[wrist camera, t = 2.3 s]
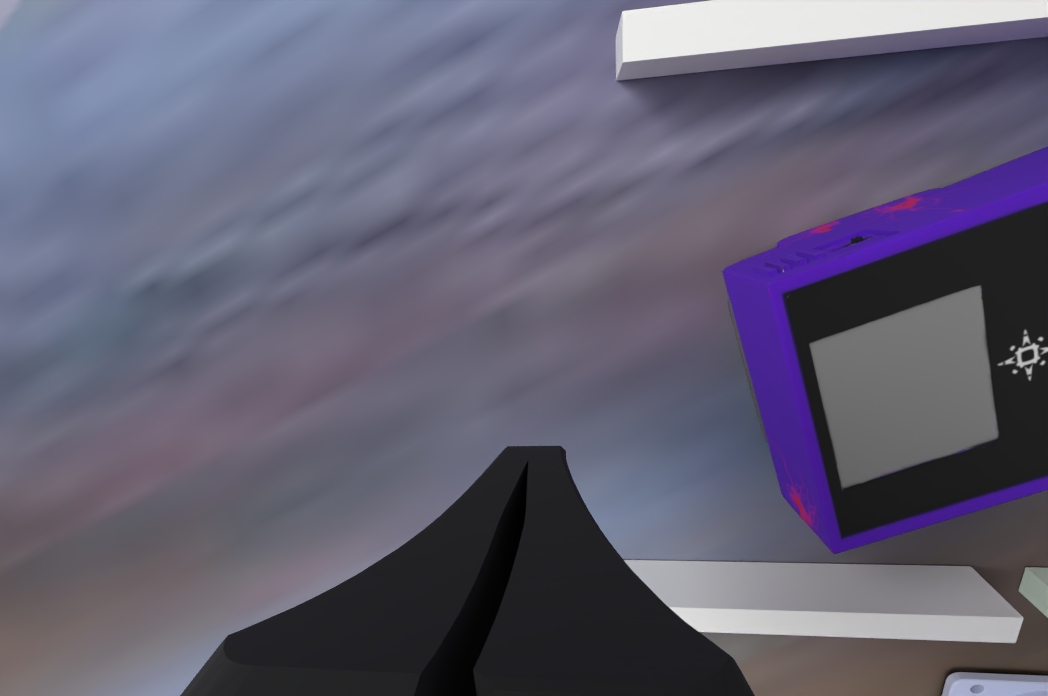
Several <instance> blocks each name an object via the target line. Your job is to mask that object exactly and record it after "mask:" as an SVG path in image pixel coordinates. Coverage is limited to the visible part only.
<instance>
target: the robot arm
mask: <svg viewBox="0 0 1048 696" xmlns="http://www.w3.org/2000/svg"><path fill="white" fill-rule="evenodd" d="M180 696H754V694H753V692H752V690H751V688H750V686H749V685H748V683H747V681H746V679H745V677H744V676H743V674H742V672H741V670H740V669H739V667H738V665H737V664H736V662H735V660H734V659H733V658H732V657H731V656H730V655H729V654H727V653H726V652H725V651H723V650H722V649H721V648H719V647H718V646H717V645H715V644H714V643H713V642H711V641H710V640H709V639H707V638H706V637H705V636H703V635H702V634H701V633H700V632H698V631H697V630H696V629H694V628H693V627H692V626H690V625H689V624H688V623H686V622H685V621H684V620H683V619H681V618H680V617H679V616H678V615H677V614H676V613H675V612H674V611H672V610H671V609H670V608H669V607H668V606H667V605H666V604H665V603H664V602H663V601H662V600H661V599H660V598H659V597H658V596H657V595H656V594H655V593H654V592H653V591H652V590H651V589H650V588H649V587H648V586H647V585H646V584H645V583H644V582H643V581H642V580H641V579H640V578H639V577H638V576H637V575H636V574H635V573H634V572H633V571H632V569H631V568H630V567H629V566H628V565H627V564H626V562H625V561H624V560H623V559H622V558H621V556H620V555H619V554H618V553H617V551H616V550H615V549H614V547H613V546H612V545H611V544H610V542H609V541H608V540H607V538H606V537H605V535H604V534H603V532H602V531H601V530H600V528H599V527H598V525H597V523H596V522H595V520H594V519H593V517H592V515H591V514H590V512H589V510H588V509H587V507H586V505H585V503H584V501H583V500H582V498H581V496H580V494H579V491H578V489H577V487H576V485H575V483H574V481H573V479H572V476H571V473H570V471H569V468H568V465H567V461H566V451H565V450H564V449H563V448H562V447H561V446H509V447H506V448H505V449H504V450H503V451H502V452H501V454H500V455H499V456H498V457H497V458H496V459H495V460H494V461H493V463H492V464H491V465H490V466H489V467H488V468H487V469H486V470H485V472H484V473H483V474H482V475H481V476H480V477H479V478H478V479H477V480H476V481H475V482H474V483H473V485H472V486H471V487H470V488H469V489H468V490H467V491H466V492H465V493H464V494H463V495H462V496H461V497H460V498H459V499H458V500H457V501H456V502H455V503H454V504H453V505H451V506H450V507H449V508H448V509H447V510H446V511H445V512H444V513H443V514H442V515H441V516H440V517H438V518H437V519H436V520H435V521H434V522H433V523H431V524H430V525H429V526H428V527H426V528H425V529H424V530H423V531H421V532H420V533H419V534H417V535H416V536H415V537H413V538H412V539H411V540H409V541H408V542H407V543H405V544H404V545H402V546H401V547H400V548H398V549H397V550H395V551H394V552H392V553H390V554H389V555H387V556H386V557H384V558H383V559H381V560H379V561H378V562H376V563H375V564H373V565H372V566H370V567H368V568H367V569H365V570H364V571H362V572H361V573H359V574H357V575H355V576H354V577H352V578H350V579H348V580H346V581H345V582H343V583H341V584H339V585H337V586H336V587H334V588H332V589H330V590H328V591H326V592H324V593H322V594H320V595H318V596H316V597H314V598H312V599H310V600H308V601H306V602H304V603H302V604H300V605H298V606H296V607H294V608H291V609H289V610H287V611H285V612H282V613H280V614H278V615H275V616H273V617H271V618H268V619H266V620H264V621H261V622H259V623H257V624H255V625H252V626H250V627H248V628H245V629H243V630H240V631H238V632H235V633H233V634H230V635H228V636H227V637H226V638H225V640H224V641H223V642H222V643H221V644H220V646H219V647H218V648H217V649H216V651H215V652H214V653H213V654H212V656H211V657H210V658H209V660H208V661H207V662H206V663H205V665H204V666H203V667H202V669H201V670H200V671H199V672H198V674H197V675H196V676H195V678H194V679H193V680H192V681H191V683H190V684H189V685H188V687H187V688H186V689H185V690H184V692H183V693H182V694H181V695H180ZM942 696H1048V676H1040V675H1017V674H994V673H971V672H955V673H952V674H950V675H949V676H948V677H947V679H946V682H945V686H944V689H943V693H942Z"/></svg>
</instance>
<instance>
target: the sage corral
mask: <svg viewBox="0 0 1048 696" xmlns="http://www.w3.org/2000/svg"><path fill="white" fill-rule="evenodd" d="M1018 591H1019V592H1020V593H1021V594H1022V595H1023V596H1025V597H1026V598H1027V599H1028V600H1029V601H1030V602H1031V603H1032V604H1033V605H1034V606H1035V607H1036V608H1038V609H1039V610H1040V611H1041V612H1042V613H1043V614H1044V615H1045V616H1046V617H1047V618H1048V568H1040V567H1026V568H1025V571H1024V574H1023V577H1022V581H1021V584H1020V587H1019V590H1018Z"/></svg>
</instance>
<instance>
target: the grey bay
mask: <svg viewBox="0 0 1048 696" xmlns="http://www.w3.org/2000/svg"><path fill="white" fill-rule="evenodd" d="M1040 37H1048V0H712V1H704V2H696V3H687V4H679V5H671V6H662V7H654V8H645V9H637V10H629V11H622V15H621V19H620V23H619V27H618V31H617V35H616V81H619V80H629V79H638V78H648V77H658V76H668V75H678V74H687V73H697V72H707V71H717V70H727V69H736V68H746V67H756V66H766V65H775V64H785V63H795V62H805V61H815V60H824V59H834V58H844V57H854V56H864V55H873V54H883V53H893V52H903V51H913V50H922V49H932V48H942V47H952V46H962V45H971V44H981V43H991V42H1001V41H1011V40H1020V39H1030V38H1040ZM624 561H625V562H626V564H627V565H628V566H629V567H630V568H631V569H632V571H633V572H634V573H635V574H636V575H637V576H638V577H639V578H640V579H641V580H642V581H643V582H644V583H645V584H646V585H647V586H648V587H649V588H650V589H651V590H652V591H653V592H654V593H655V594H656V595H657V596H658V597H659V598H660V599H661V600H662V601H663V602H664V603H665V604H666V605H667V606H668V607H669V608H670V609H671V610H672V611H674V612H675V613H676V614H677V615H678V616H679V617H680V618H681V619H683V620H684V621H685V622H686V623H688V624H689V625H690V626H692V627H693V628H694V629H696V630H697V631H698V632H719V633H747V634H775V635H803V636H831V637H859V638H887V639H915V640H943V641H971V642H999V643H1016V640H1017V637H1018V634H1019V631H1020V628H1021V625H1022V622H1023V619H1024V618H1023V617H1022V616H1021V615H1020V614H1019V613H1018V612H1017V611H1016V610H1015V609H1014V608H1013V607H1012V606H1011V605H1010V604H1009V603H1008V602H1007V601H1006V600H1005V599H1004V598H1003V597H1002V596H1001V595H1000V594H999V593H998V592H997V591H996V590H995V589H994V588H993V587H992V586H991V585H990V584H989V583H987V582H986V581H985V580H984V579H983V578H982V577H981V576H980V575H979V574H978V573H977V572H976V571H975V570H974V569H973V568H972V567H971V566H931V565H877V564H822V563H768V562H714V561H660V560H624Z"/></svg>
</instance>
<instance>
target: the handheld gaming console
mask: <svg viewBox="0 0 1048 696" xmlns="http://www.w3.org/2000/svg"><path fill="white" fill-rule="evenodd" d="M777 246H778V247H776V248H774V249H772V250H769V251H766V252H764V253H761V254H758V255H756V256H753V257H750V258H748V259H745V260H742V261H740V262H738V263H735V264H733V265H731V266H729V267H726V268H725V269H724V270H723V271H722V272H723V276H724V279H725V283H726V287H727V291H728V294H729V300H728V306H729V311H730V315H731V318H732V322H733V326H734V329H735V333H736V337H737V341H738V344H739V348H740V352H741V355H742V359H743V363H744V367H745V370H746V374H747V378H748V381H749V385H750V389H751V393H752V396H753V400H754V404H755V407H756V411H757V415H758V419H759V422H760V426H761V429H762V432H763V434H764V437H765V439H766V442H768V444H769V448H770V451H771V455H772V459H773V463H774V466H775V470H776V474H777V478H778V481H779V485H780V489H781V493H782V495H783V497H784V498H785V499H786V501H787V502H788V503H789V504H790V505H791V507H792V508H793V509H794V510H795V511H796V512H797V513H798V514H799V516H800V517H801V518H802V519H803V520H804V521H805V522H806V523H807V525H808V526H809V527H810V528H811V529H812V530H813V531H814V532H815V533H816V535H817V536H818V537H819V538H820V539H821V540H822V541H823V542H824V544H825V545H826V546H827V547H828V548H829V549H830V550H831V551H832V552H833V553H834V554H837V553H840V552H843V551H847V550H850V549H853V548H856V547H860V546H863V545H866V544H870V543H873V542H876V541H880V540H883V539H886V538H890V537H893V536H896V535H899V534H903V533H906V532H909V531H913V530H916V529H919V528H923V527H926V526H929V525H932V524H936V523H939V522H942V521H946V520H949V519H952V518H956V517H959V516H962V515H966V514H969V513H972V512H975V511H979V510H982V509H985V508H989V507H992V506H995V505H999V504H1002V503H1005V502H1009V501H1012V500H1015V499H1018V498H1022V497H1025V496H1028V495H1032V494H1035V493H1038V492H1042V491H1045V490H1048V147H1046V148H1043V149H1040V150H1038V151H1035V152H1033V153H1030V154H1028V155H1025V156H1023V157H1020V158H1018V159H1015V160H1013V161H1010V162H1008V163H1005V164H1003V165H1000V166H998V167H995V168H993V169H990V170H988V171H985V172H983V173H980V174H978V175H975V176H973V177H970V178H968V179H965V180H963V181H960V182H958V183H955V184H953V185H950V186H947V187H944V188H938V189H932V190H927V191H924V192H921V193H917V194H914V195H911V196H908V197H905V198H902V199H899V200H896V201H893V202H889V203H886V204H883V205H880V206H877V207H875V208H872V209H869V210H866V211H863V212H860V213H857V214H854V215H851V216H848V217H845V218H842V219H839V220H836V221H833V222H830V223H827V224H824V225H821V226H818V227H815V228H813V229H810V230H807V231H804V232H801V233H798V234H796V235H793V236H790V237H788V238H785V239H783V240H781V241H779V242H778V243H777Z"/></svg>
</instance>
